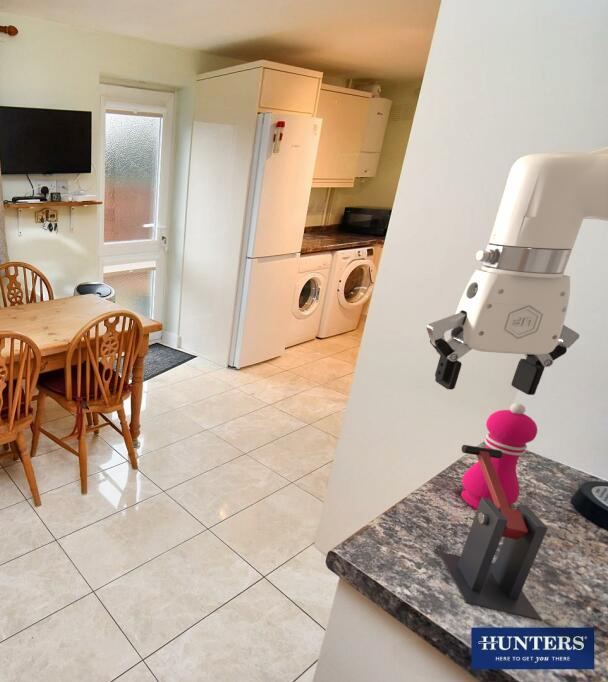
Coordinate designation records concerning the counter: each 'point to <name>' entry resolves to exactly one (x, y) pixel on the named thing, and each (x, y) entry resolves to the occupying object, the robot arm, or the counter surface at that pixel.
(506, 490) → the pepper mill
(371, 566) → the counter surface
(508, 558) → the switch bracket
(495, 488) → the switch lever
